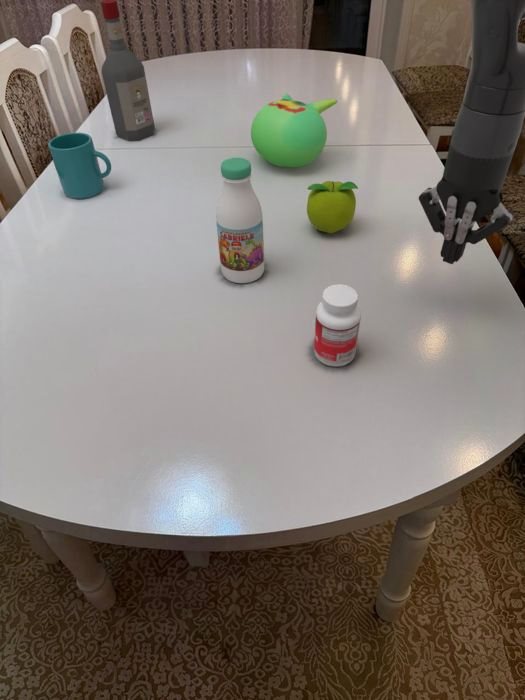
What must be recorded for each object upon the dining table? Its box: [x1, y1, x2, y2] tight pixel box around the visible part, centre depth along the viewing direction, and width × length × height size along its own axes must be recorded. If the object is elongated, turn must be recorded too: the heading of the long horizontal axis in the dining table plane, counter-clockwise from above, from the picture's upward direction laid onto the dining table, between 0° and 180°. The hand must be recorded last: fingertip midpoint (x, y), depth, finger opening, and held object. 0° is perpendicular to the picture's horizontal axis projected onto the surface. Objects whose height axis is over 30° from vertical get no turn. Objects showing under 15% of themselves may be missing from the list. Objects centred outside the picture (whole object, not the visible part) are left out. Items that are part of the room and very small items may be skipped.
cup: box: [47, 132, 112, 200], centre depth 109 cm, size 9×12×11 cm
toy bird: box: [250, 93, 339, 168], centre depth 115 cm, size 18×17×15 cm
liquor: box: [100, 0, 156, 142], centre depth 125 cm, size 9×9×30 cm
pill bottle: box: [313, 283, 362, 367], centre depth 70 cm, size 6×6×11 cm
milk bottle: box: [215, 157, 265, 284], centre depth 82 cm, size 8×8×20 cm
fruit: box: [306, 180, 359, 234], centre depth 95 cm, size 9×9×10 cm
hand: (449, 260), depth 73 cm, fingers closed
